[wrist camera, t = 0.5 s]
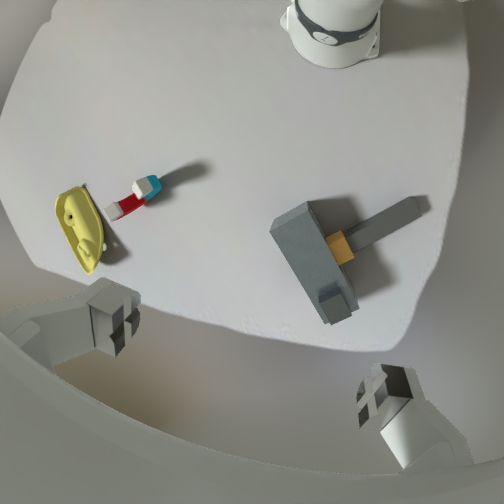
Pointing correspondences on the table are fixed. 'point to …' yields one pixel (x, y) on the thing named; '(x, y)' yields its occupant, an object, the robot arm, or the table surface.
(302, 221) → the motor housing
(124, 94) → the table surface
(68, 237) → the plastic component
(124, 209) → the magnet
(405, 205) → the plug
